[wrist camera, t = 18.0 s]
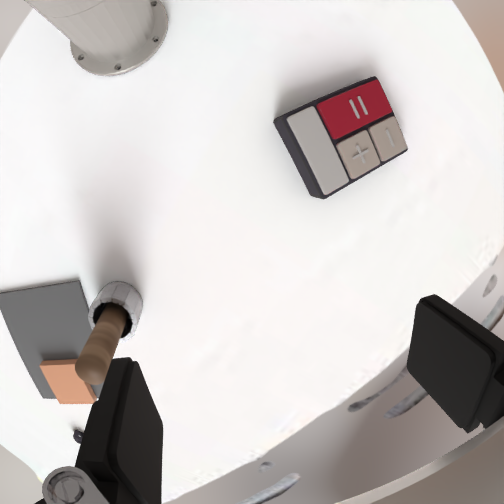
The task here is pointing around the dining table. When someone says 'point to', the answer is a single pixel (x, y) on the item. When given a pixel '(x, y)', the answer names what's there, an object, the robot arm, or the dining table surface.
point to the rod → (101, 344)
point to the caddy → (122, 296)
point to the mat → (47, 327)
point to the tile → (67, 382)
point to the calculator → (341, 136)
